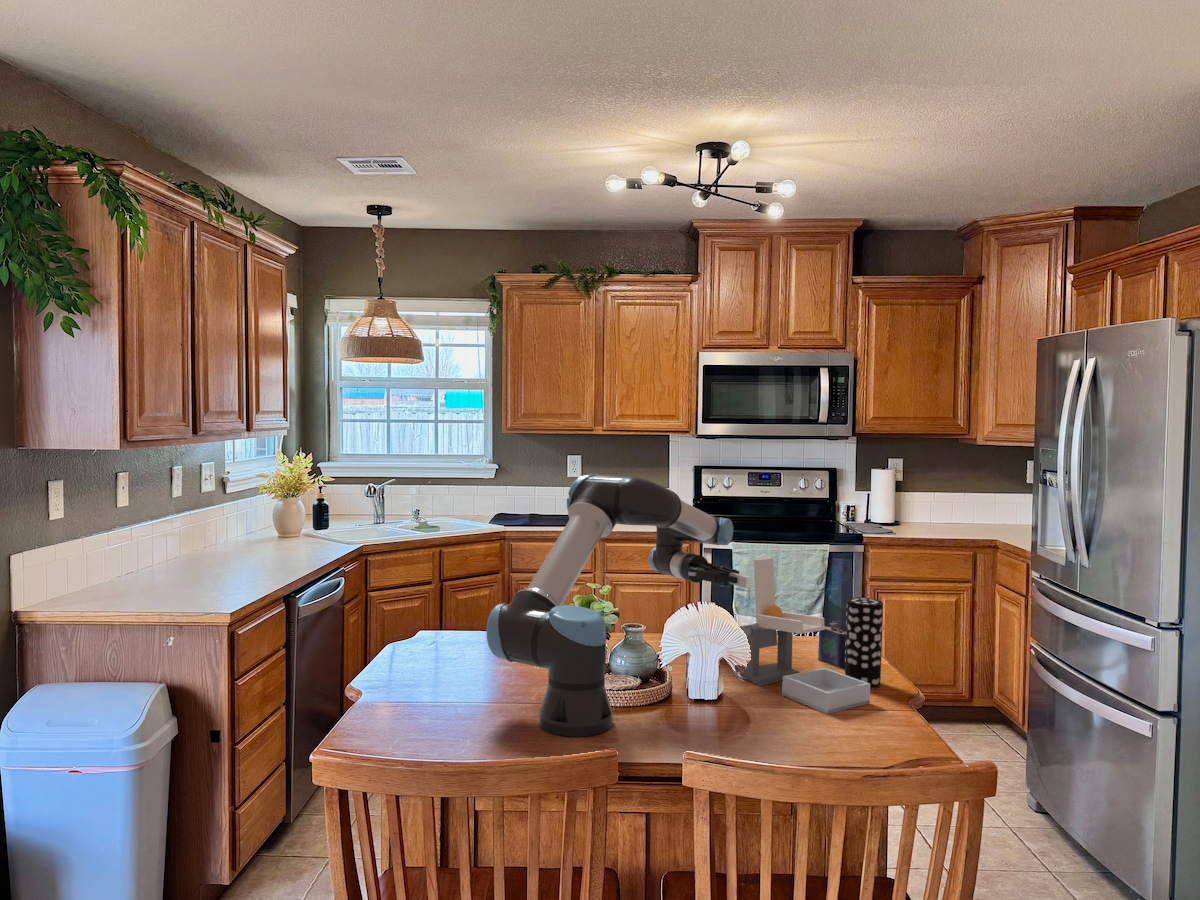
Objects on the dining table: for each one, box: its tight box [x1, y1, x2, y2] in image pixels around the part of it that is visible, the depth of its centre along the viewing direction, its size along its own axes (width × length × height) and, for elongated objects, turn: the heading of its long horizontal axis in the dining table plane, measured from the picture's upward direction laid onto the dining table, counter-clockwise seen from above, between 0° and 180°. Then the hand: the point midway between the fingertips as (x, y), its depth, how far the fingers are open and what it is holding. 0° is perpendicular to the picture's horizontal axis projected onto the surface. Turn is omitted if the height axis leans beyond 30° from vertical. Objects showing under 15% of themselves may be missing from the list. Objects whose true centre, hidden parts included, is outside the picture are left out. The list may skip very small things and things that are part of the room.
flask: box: [817, 622, 846, 669], centre depth 219 cm, size 9×3×11 cm, turn 28°
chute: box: [740, 557, 825, 649], centre depth 204 cm, size 21×8×22 cm, turn 32°
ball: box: [766, 605, 783, 618], centre depth 205 cm, size 4×4×4 cm
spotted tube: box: [844, 596, 884, 689], centre depth 203 cm, size 8×8×20 cm
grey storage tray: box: [781, 667, 871, 715], centre depth 191 cm, size 14×14×4 cm
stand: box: [738, 624, 800, 686], centre depth 207 cm, size 8×15×13 cm, turn 122°
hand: (748, 582), depth 213 cm, fingers closed
